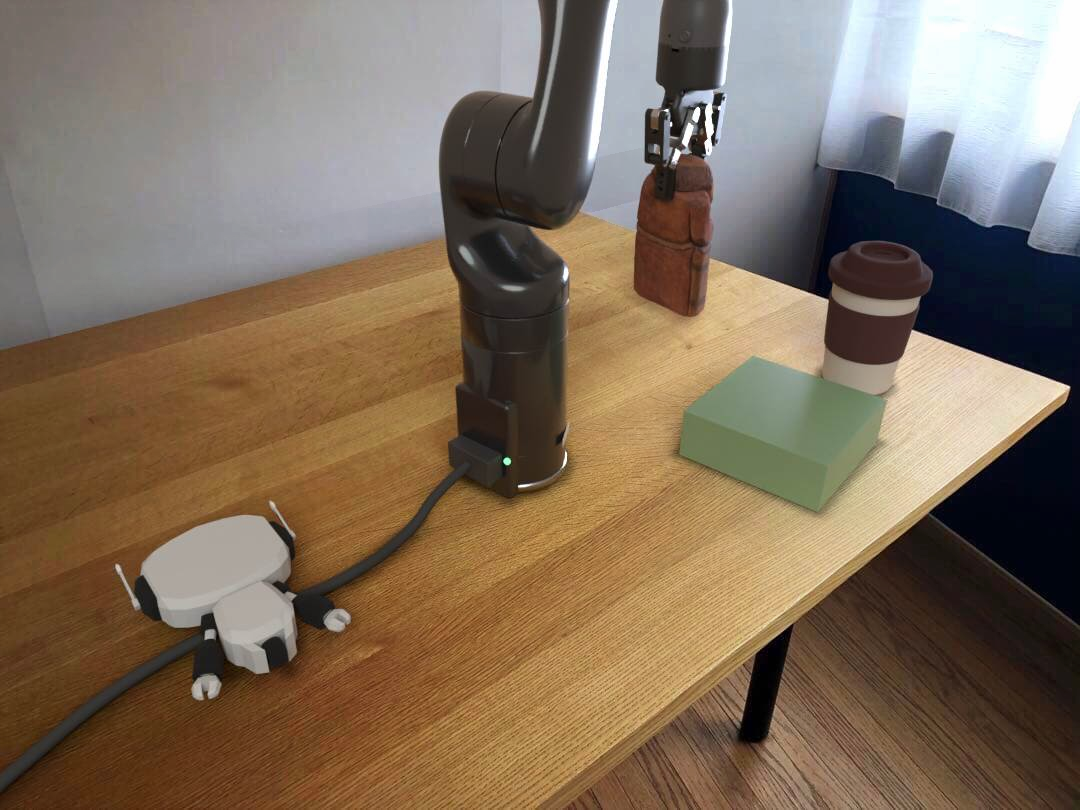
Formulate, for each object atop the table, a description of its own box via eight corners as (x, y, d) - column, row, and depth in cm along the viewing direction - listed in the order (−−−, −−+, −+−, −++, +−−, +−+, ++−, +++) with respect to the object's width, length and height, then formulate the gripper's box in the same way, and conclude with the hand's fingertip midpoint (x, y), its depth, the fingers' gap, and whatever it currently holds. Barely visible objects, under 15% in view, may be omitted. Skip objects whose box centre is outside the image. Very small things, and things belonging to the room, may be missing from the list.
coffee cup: (870, 414, 89) (902, 279, 81) (790, 377, 95) (813, 249, 87) (921, 384, 94) (956, 254, 86) (842, 351, 100) (868, 227, 93)
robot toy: (365, 646, 63) (274, 531, 72) (361, 603, 60) (267, 489, 69) (198, 736, 56) (122, 596, 65) (186, 693, 53) (108, 553, 63)
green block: (817, 512, 75) (828, 466, 72) (678, 454, 82) (683, 410, 80) (876, 443, 84) (887, 399, 81) (746, 396, 92) (753, 355, 89)
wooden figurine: (723, 309, 105) (743, 161, 96) (686, 322, 102) (704, 170, 93) (655, 279, 113) (667, 140, 104) (619, 290, 110) (629, 147, 101)
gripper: (697, 28, 99) (683, 173, 107) (626, 42, 89) (617, 201, 97) (756, 34, 95) (737, 185, 103) (690, 50, 85) (674, 215, 93)
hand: (679, 192), depth 100 cm, fingers closed on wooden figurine, 6 cm apart
